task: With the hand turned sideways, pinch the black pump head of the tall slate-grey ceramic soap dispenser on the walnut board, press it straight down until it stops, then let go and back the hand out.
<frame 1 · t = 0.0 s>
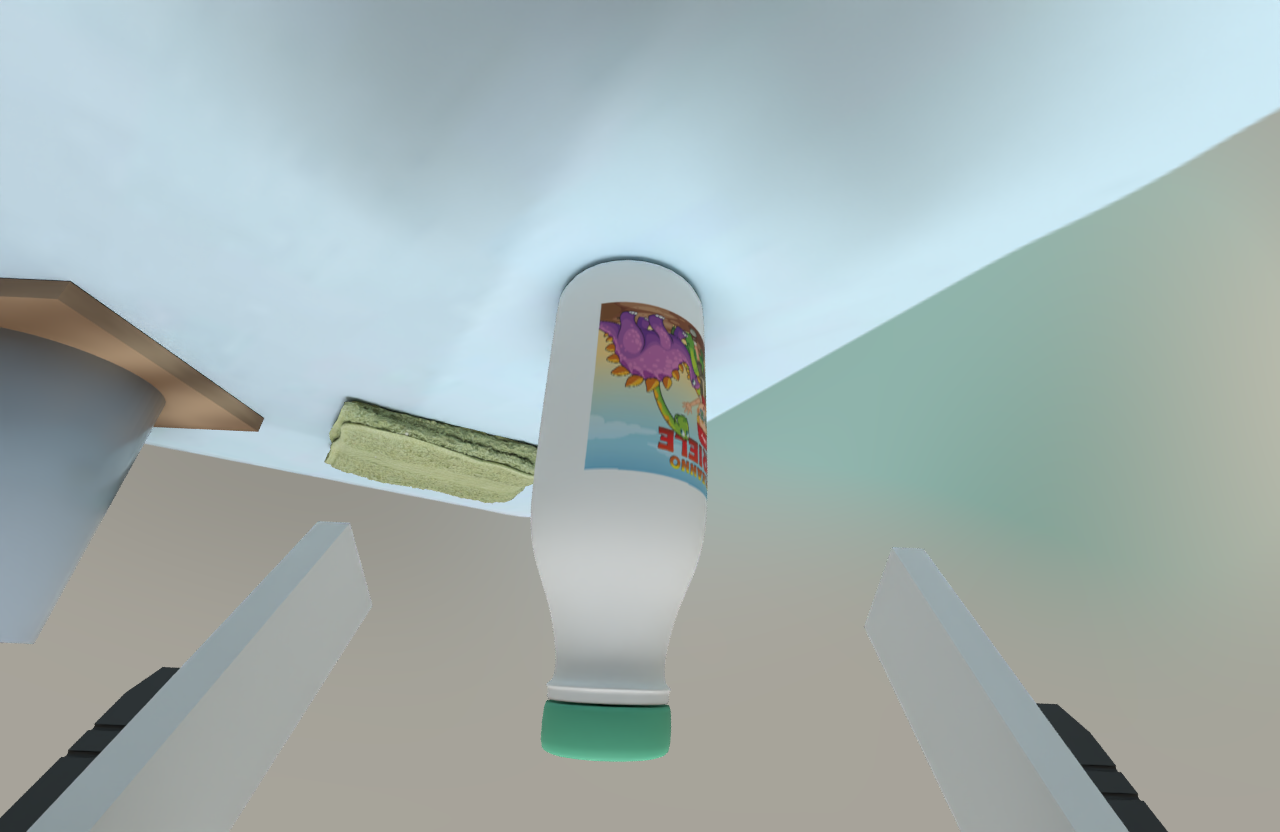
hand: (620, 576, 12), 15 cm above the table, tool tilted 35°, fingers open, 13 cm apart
walnut board: (68, 358, 33), on the table
soap dispenser: (58, 374, 33), resting on walnut board
washcloth: (444, 443, 45), on the table
milk bottle: (631, 304, 27), on the table
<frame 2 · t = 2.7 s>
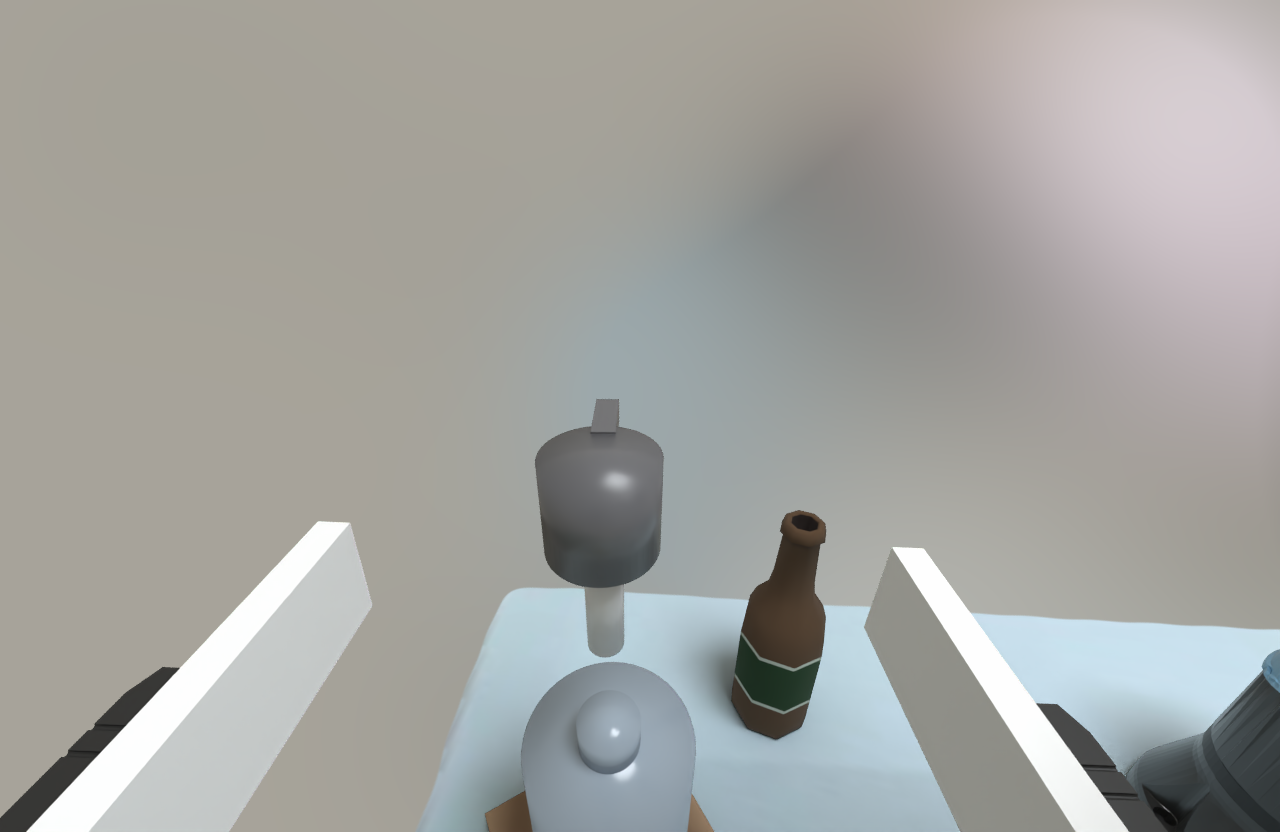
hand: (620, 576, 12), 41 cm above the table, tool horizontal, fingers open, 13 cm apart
pump plunger: (597, 542, 26), point 33 cm above the table, slide at 7.0 cm
beer bottle: (767, 704, 52), on the table
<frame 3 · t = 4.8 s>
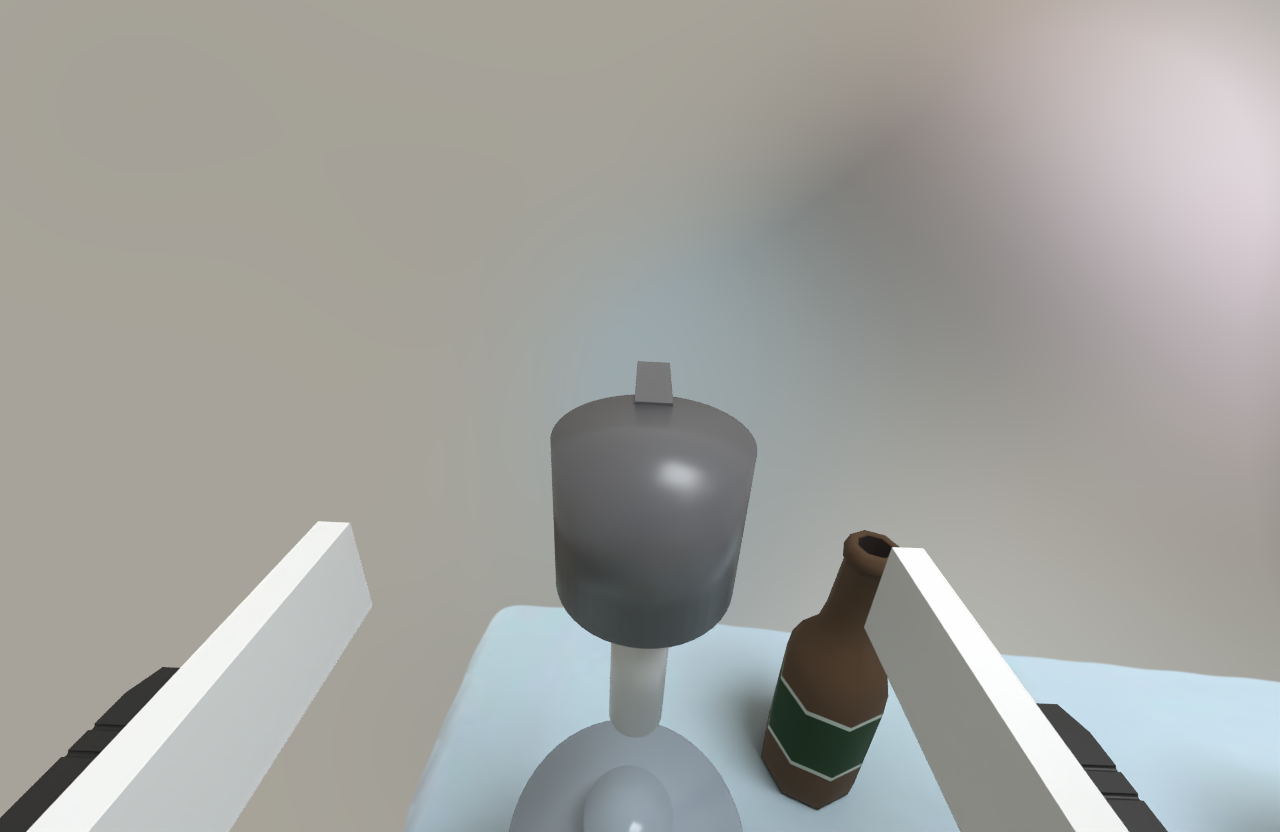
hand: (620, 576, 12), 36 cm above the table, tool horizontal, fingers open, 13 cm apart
pump plunger: (633, 569, 17), point 33 cm above the table, slide at 7.0 cm
beer bottle: (803, 762, 43), on the table
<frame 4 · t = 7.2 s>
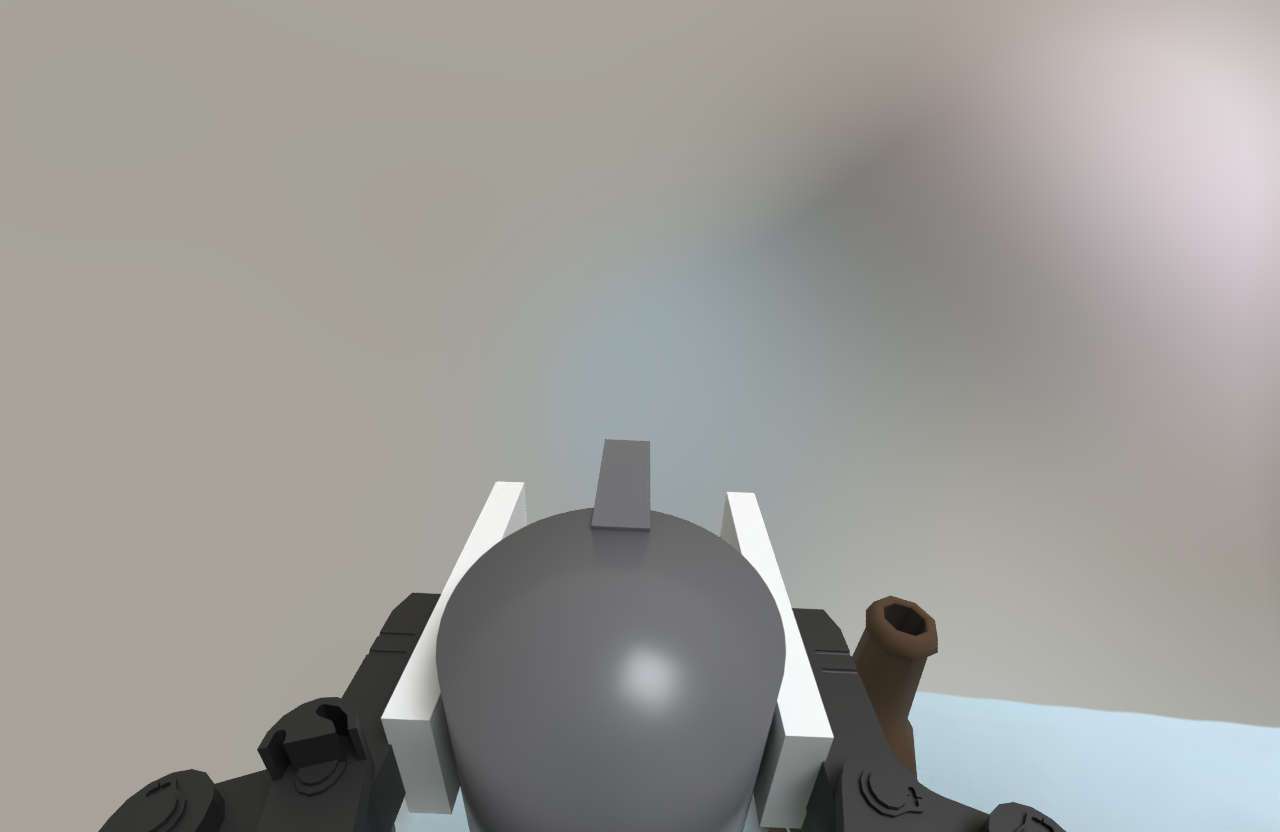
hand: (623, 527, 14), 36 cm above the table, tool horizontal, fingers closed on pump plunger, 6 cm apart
pump plunger: (597, 747, 12), point 33 cm above the table, slide at 7.0 cm, touching gripper
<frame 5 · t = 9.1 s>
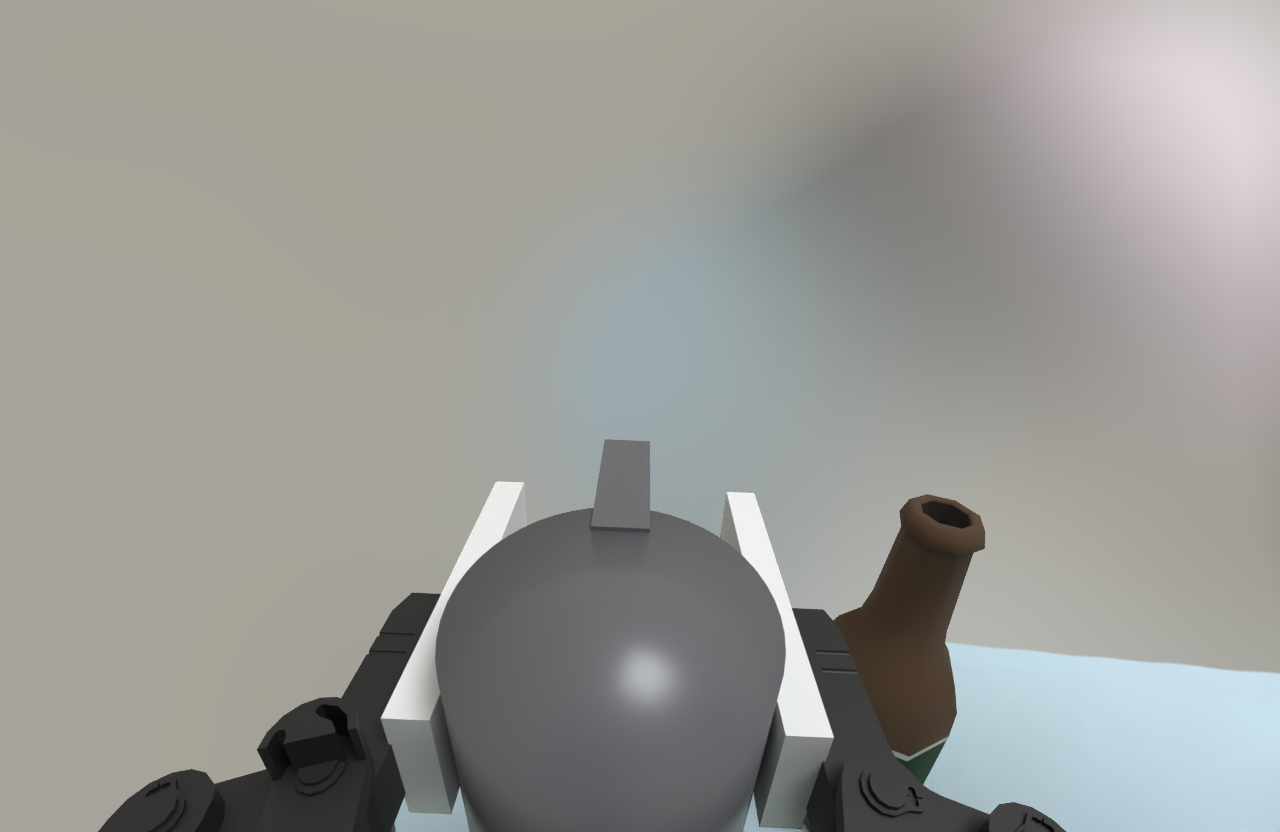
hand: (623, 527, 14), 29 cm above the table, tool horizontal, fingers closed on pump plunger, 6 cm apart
pump plunger: (597, 748, 12), point 25 cm above the table, slide at -0.1 cm, touching gripper
beer bottle: (836, 791, 35), on the table
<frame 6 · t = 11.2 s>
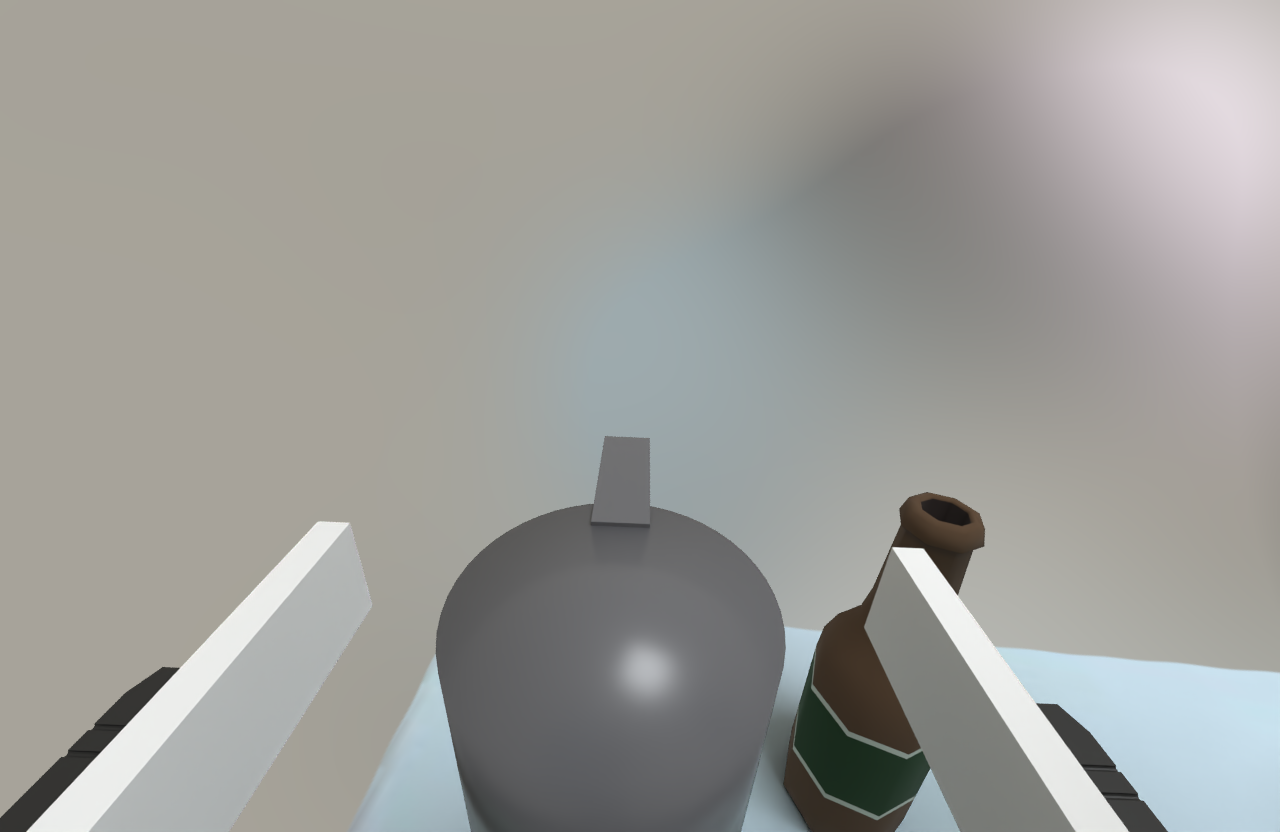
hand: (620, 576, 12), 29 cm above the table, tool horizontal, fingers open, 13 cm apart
pump plunger: (597, 743, 12), point 25 cm above the table, slide at -0.1 cm
beer bottle: (835, 790, 35), on the table
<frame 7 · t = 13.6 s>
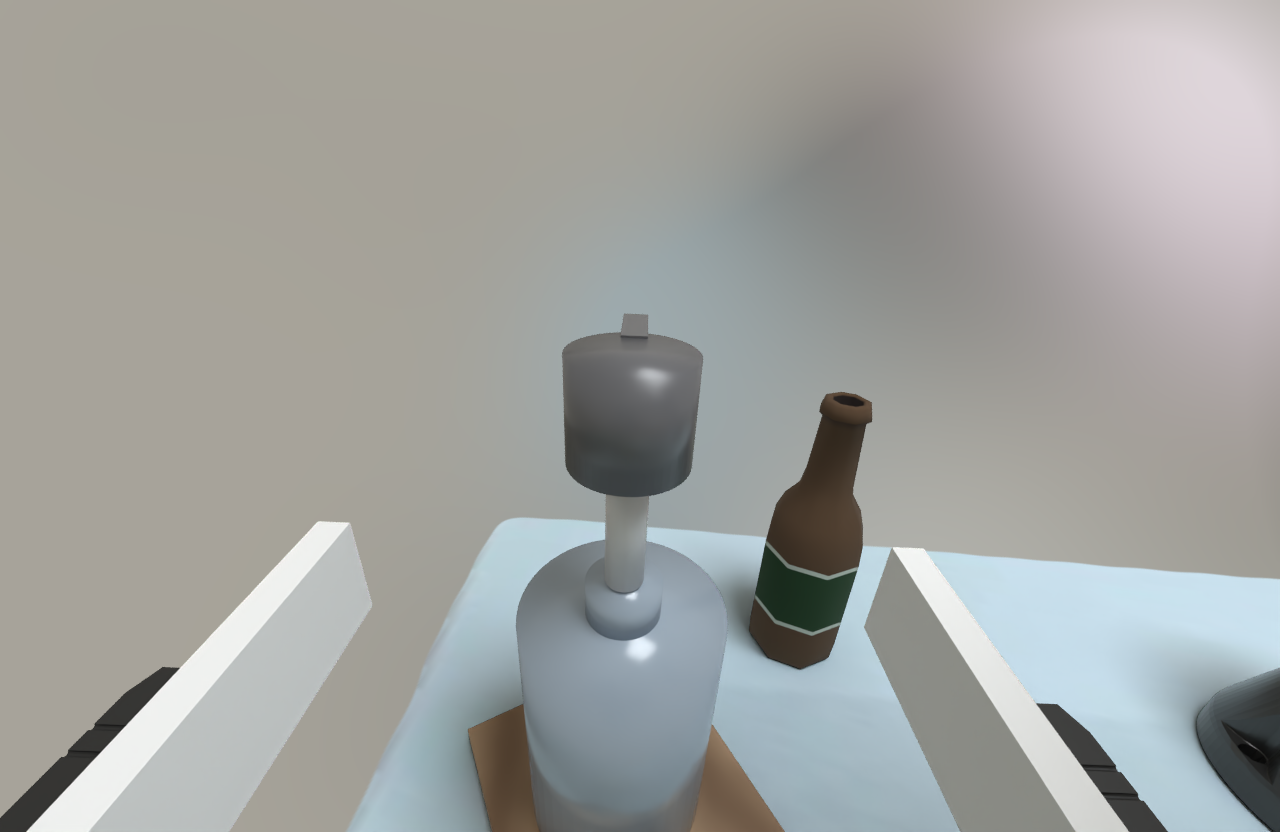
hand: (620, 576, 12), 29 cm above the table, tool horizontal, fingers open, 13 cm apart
walnut board: (616, 789, 34), on the table
soap dispenser: (616, 780, 33), resting on walnut board
pump plunger: (621, 463, 23), point 25 cm above the table, slide at -0.1 cm
beer bottle: (788, 635, 46), on the table
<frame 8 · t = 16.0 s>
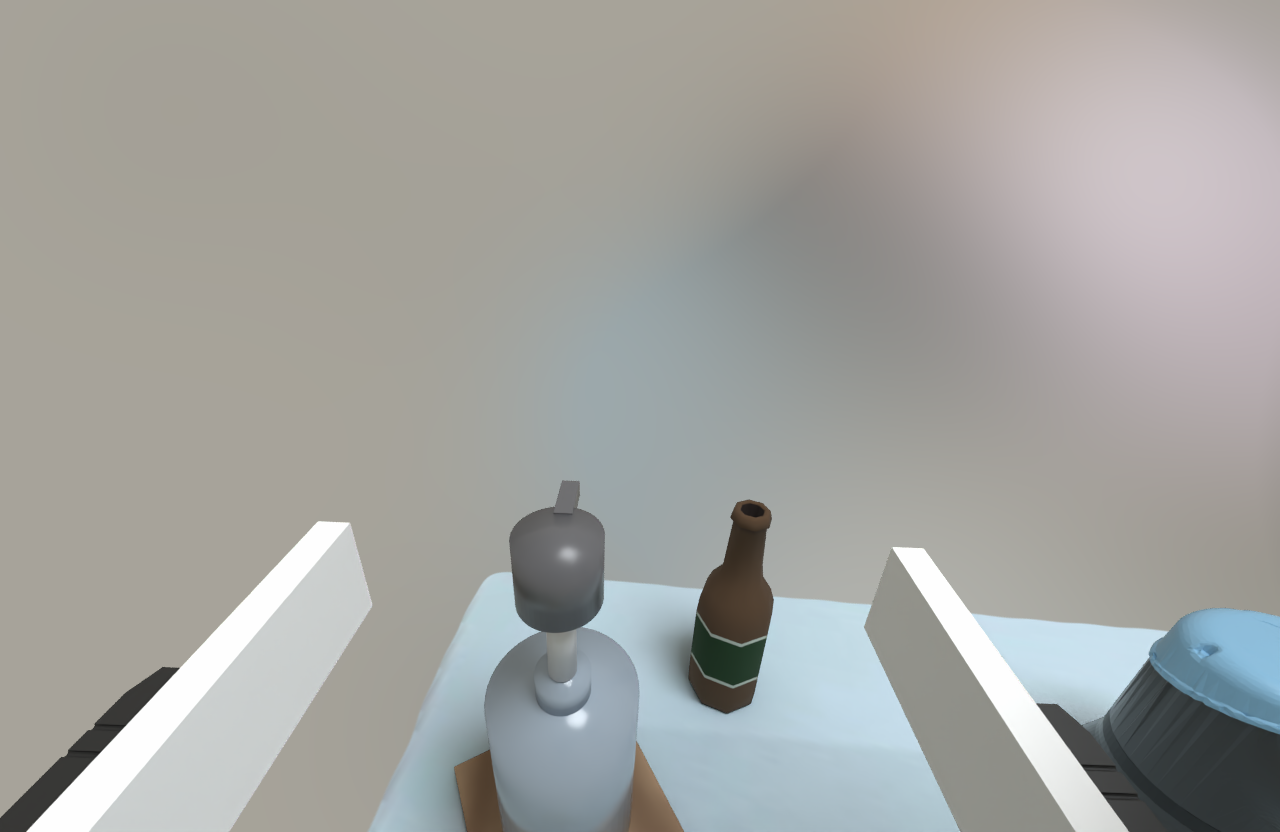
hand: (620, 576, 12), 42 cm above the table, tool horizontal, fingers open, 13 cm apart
walnut board: (568, 816, 44), on the table
soap dispenser: (568, 808, 43), resting on walnut board
pump plunger: (557, 593, 33), point 25 cm above the table, slide at -0.1 cm
beer bottle: (721, 683, 56), on the table
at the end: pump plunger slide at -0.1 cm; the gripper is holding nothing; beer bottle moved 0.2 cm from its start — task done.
